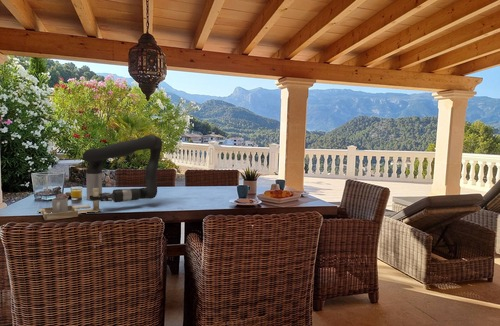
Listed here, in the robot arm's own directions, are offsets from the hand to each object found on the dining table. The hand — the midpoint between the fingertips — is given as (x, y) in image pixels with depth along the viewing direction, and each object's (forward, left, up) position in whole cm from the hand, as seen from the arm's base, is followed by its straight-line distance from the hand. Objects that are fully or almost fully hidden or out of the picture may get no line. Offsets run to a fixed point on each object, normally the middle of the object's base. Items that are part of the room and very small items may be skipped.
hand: (90, 198), depth 185 cm
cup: (0, -15, -8) cm, 17 cm away
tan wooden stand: (0, -9, -8) cm, 12 cm away
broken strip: (-13, -11, -8) cm, 19 cm away
